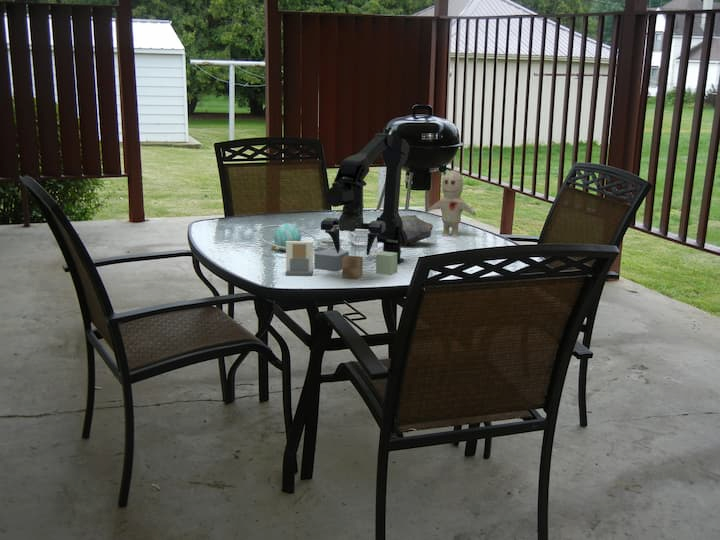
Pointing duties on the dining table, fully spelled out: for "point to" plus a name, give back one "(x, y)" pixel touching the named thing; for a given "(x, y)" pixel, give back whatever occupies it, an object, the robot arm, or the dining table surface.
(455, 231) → the toy
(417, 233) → the stone
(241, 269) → the dining table surface
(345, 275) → the walnut block
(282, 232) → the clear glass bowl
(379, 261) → the sage block
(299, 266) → the plaque
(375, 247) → the dining table surface
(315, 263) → the slate base
